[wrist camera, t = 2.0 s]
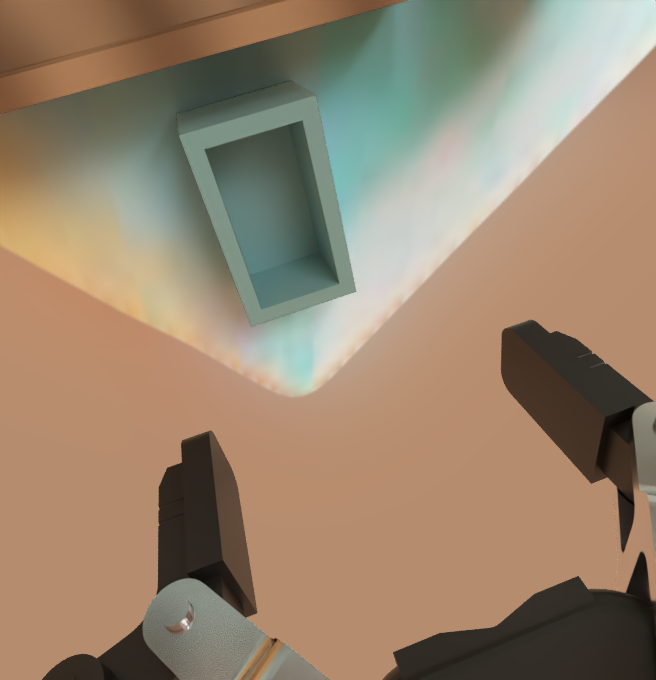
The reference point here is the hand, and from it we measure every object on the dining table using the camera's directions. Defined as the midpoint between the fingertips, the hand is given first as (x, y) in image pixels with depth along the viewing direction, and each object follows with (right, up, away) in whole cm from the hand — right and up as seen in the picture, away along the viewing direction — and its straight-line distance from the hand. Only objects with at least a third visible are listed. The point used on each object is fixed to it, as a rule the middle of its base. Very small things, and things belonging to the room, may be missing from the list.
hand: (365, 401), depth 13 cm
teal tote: (-5, +10, +14) cm, 18 cm away
